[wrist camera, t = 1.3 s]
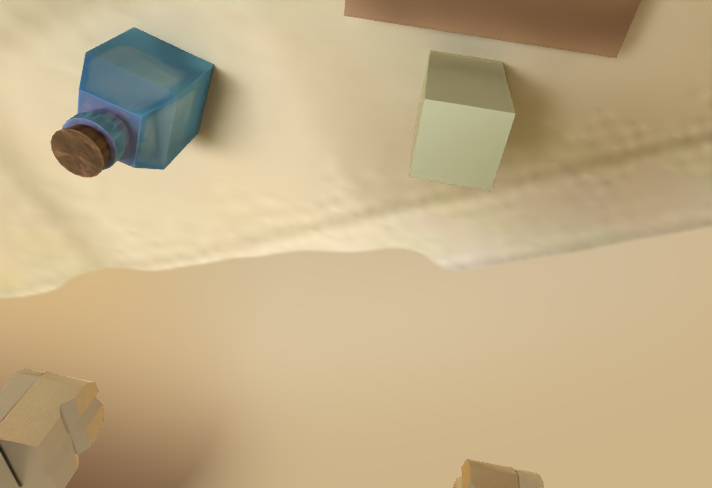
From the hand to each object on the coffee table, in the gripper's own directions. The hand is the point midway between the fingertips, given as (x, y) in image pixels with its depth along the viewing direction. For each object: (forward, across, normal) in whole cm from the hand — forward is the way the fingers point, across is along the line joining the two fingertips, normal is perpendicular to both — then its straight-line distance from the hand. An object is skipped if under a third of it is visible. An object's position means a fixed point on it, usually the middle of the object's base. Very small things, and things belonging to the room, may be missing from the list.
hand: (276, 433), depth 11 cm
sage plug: (+30, -5, +2) cm, 31 cm away
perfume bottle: (+30, +17, +5) cm, 35 cm away
